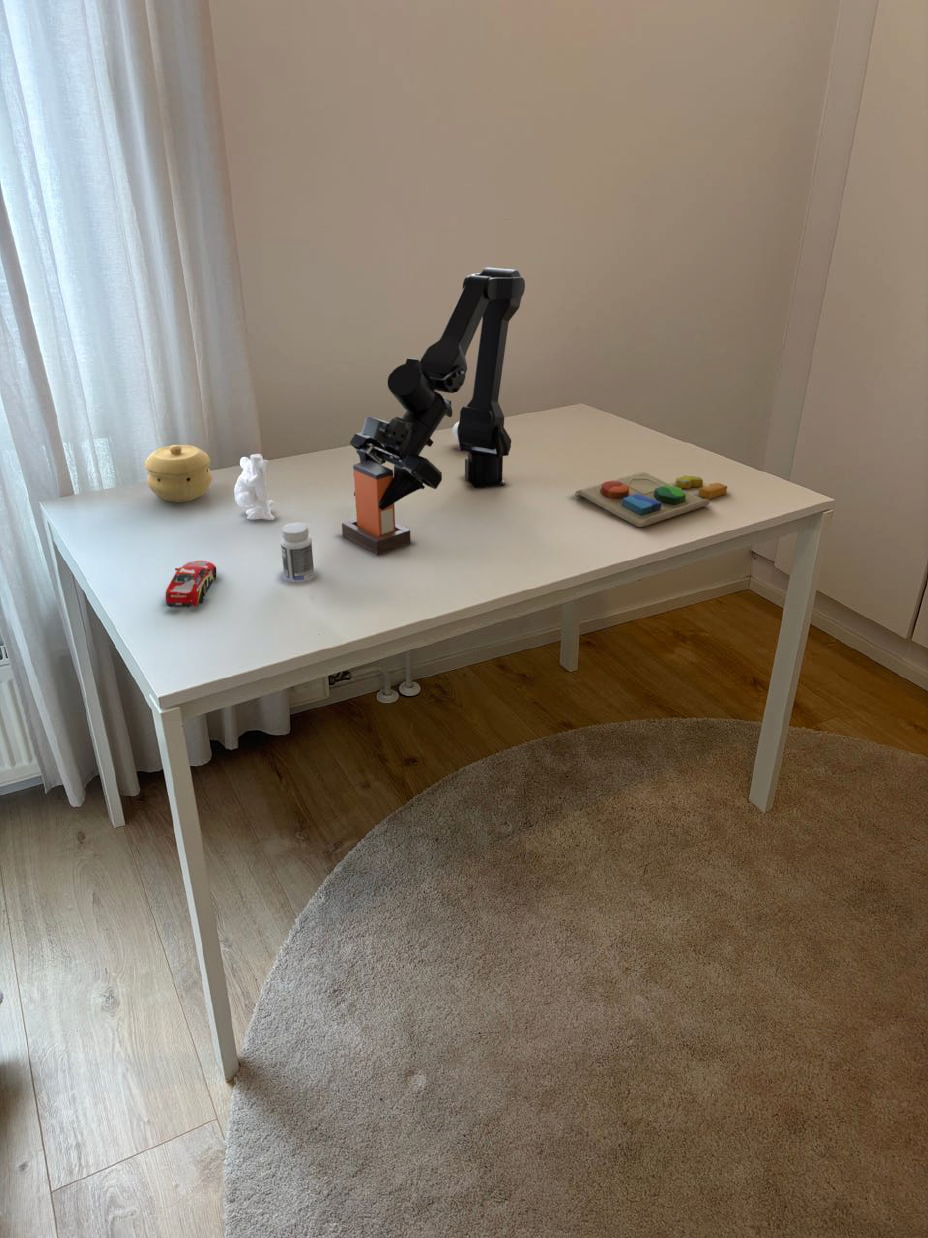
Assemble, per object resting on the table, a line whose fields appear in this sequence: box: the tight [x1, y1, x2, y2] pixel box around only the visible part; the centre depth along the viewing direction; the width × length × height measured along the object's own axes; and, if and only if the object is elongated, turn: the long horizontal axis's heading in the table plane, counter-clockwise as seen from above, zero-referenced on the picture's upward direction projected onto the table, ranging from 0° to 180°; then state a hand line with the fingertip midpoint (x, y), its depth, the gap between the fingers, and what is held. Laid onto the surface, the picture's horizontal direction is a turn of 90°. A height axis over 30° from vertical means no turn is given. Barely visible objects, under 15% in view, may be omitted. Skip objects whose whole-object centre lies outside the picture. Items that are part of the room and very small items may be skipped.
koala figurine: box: [233, 453, 275, 521], centre depth 169 cm, size 8×7×12 cm
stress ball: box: [452, 421, 460, 450], centre depth 204 cm, size 8×8×7 cm
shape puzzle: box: [574, 471, 728, 528], centre depth 179 cm, size 25×19×3 cm
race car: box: [165, 560, 217, 608], centre depth 145 cm, size 13×5×4 cm, turn 177°
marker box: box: [352, 460, 396, 538], centre depth 160 cm, size 3×6×12 cm, turn 41°
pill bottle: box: [280, 522, 315, 583], centre depth 149 cm, size 5×5×8 cm
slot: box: [341, 517, 412, 556], centre depth 162 cm, size 7×10×2 cm
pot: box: [144, 444, 213, 503], centre depth 177 cm, size 12×12×10 cm
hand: (367, 502), depth 159 cm, fingers closed on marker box, 6 cm apart
